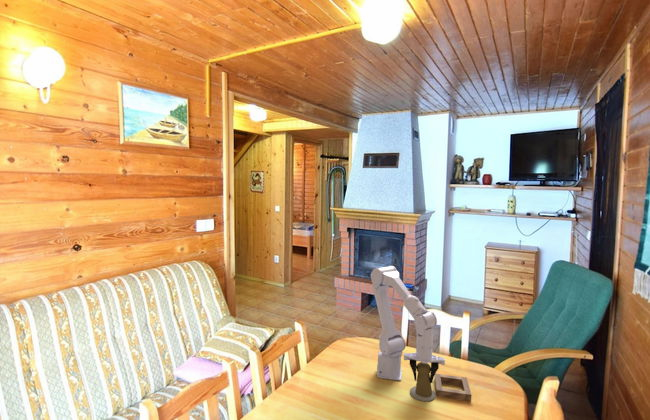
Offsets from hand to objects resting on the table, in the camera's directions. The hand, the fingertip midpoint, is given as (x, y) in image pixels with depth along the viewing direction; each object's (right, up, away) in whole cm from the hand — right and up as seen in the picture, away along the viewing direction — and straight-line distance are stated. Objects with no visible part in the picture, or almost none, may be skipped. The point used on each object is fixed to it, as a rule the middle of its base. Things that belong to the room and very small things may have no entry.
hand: (423, 380), depth 134 cm
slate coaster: (0, -5, 0) cm, 5 cm away
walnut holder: (+12, -5, +4) cm, 14 cm away
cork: (0, -5, 0) cm, 5 cm away
